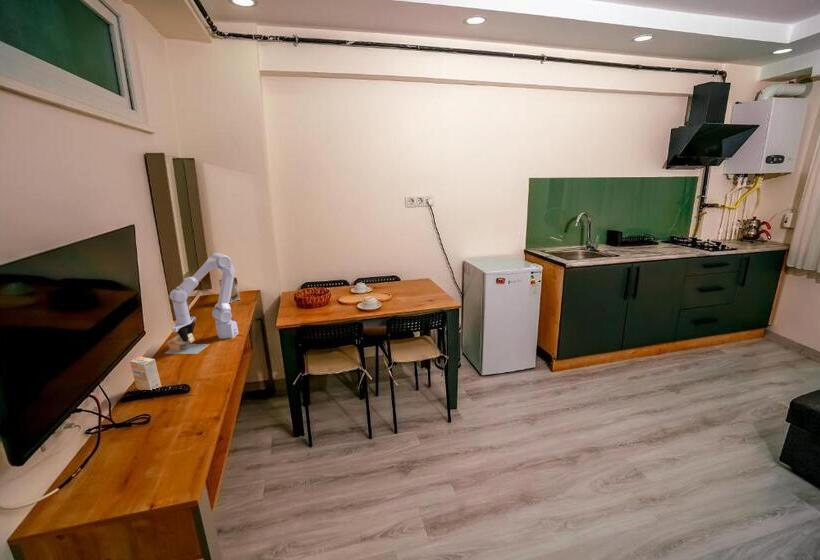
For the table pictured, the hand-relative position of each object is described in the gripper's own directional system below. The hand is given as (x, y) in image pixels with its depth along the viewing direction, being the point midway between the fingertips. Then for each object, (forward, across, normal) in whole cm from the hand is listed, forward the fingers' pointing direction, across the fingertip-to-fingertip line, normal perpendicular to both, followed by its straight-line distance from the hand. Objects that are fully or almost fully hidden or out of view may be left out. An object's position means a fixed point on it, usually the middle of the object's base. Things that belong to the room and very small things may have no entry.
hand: (187, 339), depth 183 cm
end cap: (+4, 0, -6) cm, 7 cm away
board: (+5, +1, 0) cm, 5 cm away
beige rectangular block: (+2, 0, -2) cm, 2 cm away
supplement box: (+6, +34, +6) cm, 35 cm away
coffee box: (+5, -67, -16) cm, 69 cm away
